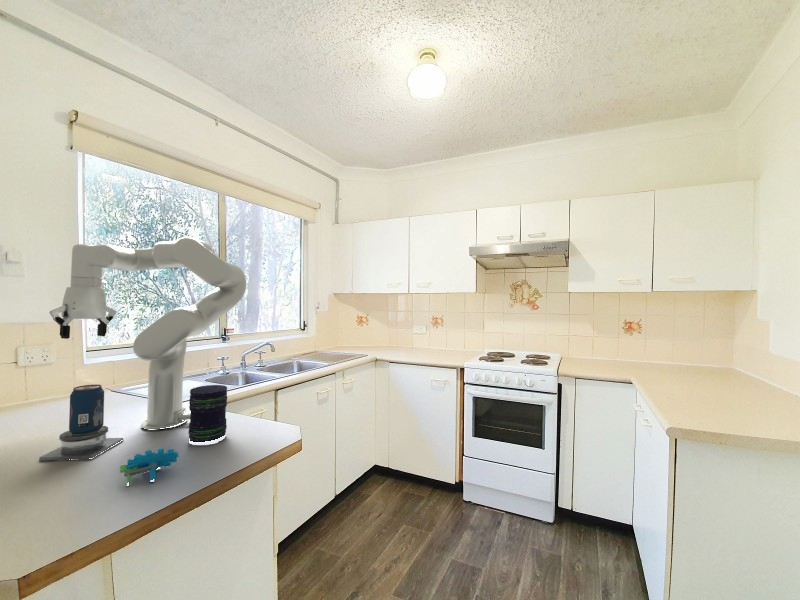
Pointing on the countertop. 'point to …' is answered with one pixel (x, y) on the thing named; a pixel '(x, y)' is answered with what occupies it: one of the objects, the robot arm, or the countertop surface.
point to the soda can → (86, 409)
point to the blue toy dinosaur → (148, 463)
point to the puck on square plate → (81, 445)
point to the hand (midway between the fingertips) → (84, 337)
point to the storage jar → (207, 413)
